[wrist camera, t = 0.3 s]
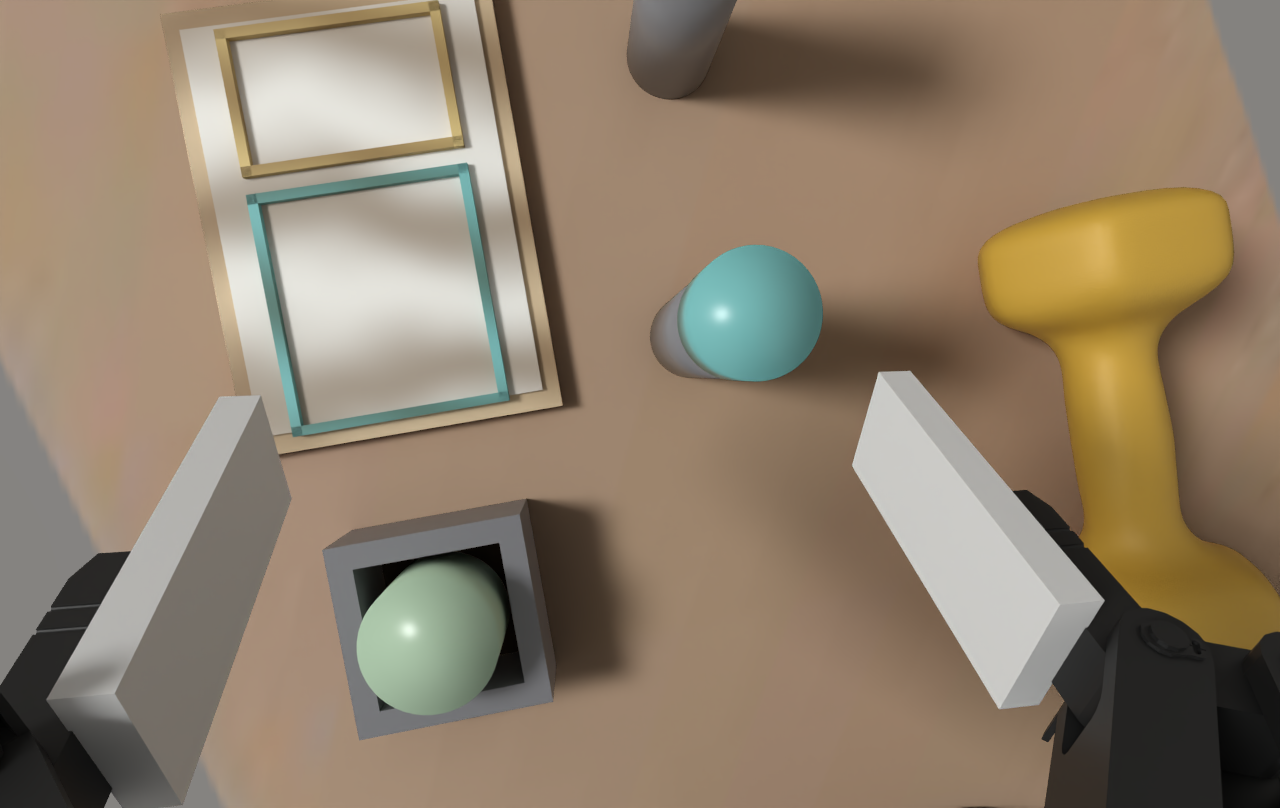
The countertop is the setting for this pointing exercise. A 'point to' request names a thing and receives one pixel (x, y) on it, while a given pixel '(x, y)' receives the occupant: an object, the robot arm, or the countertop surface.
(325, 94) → the double window tray
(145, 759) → the robot arm
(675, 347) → the teal marker
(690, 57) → the ochre marker
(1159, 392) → the dumbbell
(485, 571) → the button
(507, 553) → the button housing
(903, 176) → the countertop surface
